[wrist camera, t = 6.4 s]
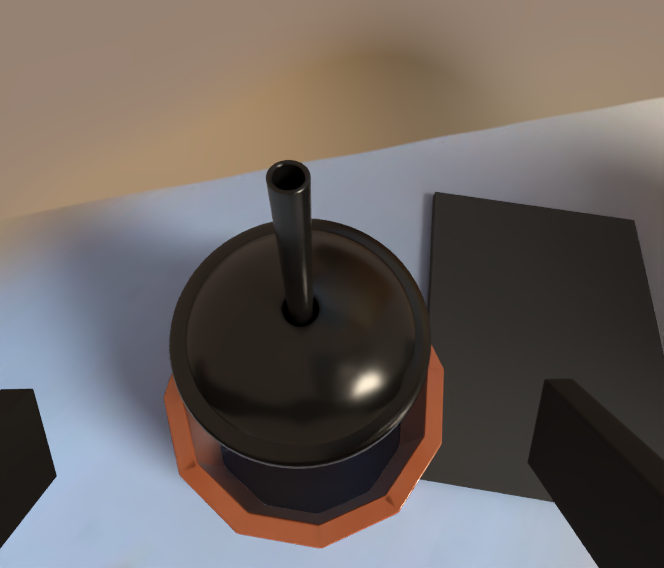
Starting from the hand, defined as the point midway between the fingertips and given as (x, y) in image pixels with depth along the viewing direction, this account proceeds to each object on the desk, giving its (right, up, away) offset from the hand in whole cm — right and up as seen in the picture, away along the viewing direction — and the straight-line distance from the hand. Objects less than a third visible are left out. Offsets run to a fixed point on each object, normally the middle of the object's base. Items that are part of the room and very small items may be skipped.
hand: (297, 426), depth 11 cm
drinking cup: (0, -4, +14) cm, 14 cm away
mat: (+15, +1, +16) cm, 22 cm away
